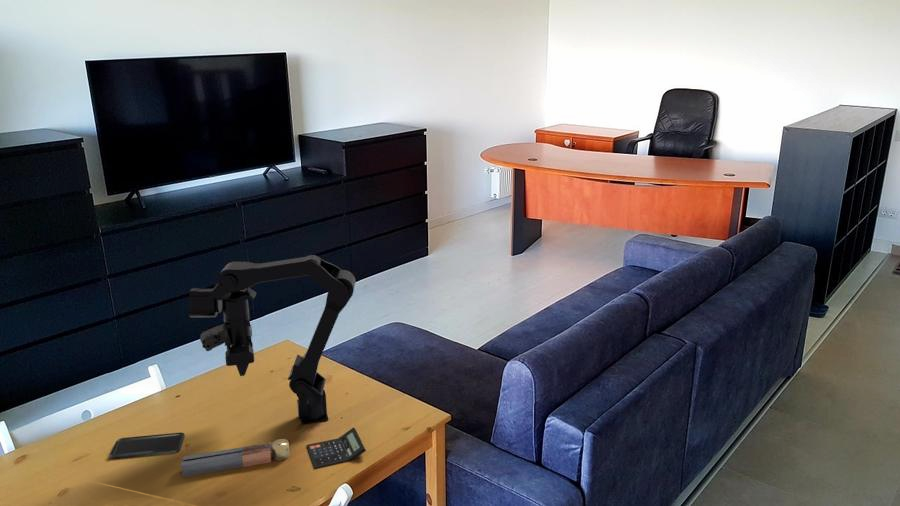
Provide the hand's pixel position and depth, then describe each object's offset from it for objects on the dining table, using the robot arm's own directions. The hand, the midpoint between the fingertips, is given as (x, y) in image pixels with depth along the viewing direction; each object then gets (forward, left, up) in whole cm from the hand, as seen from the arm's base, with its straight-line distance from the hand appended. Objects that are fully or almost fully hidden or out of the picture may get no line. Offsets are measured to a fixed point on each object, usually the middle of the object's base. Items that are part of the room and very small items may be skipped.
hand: (242, 375), depth 163 cm
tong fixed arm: (+5, +20, -12) cm, 24 cm away
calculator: (-19, +21, -13) cm, 31 cm away
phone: (+22, +6, -13) cm, 26 cm away
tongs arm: (+2, +19, -12) cm, 22 cm away
